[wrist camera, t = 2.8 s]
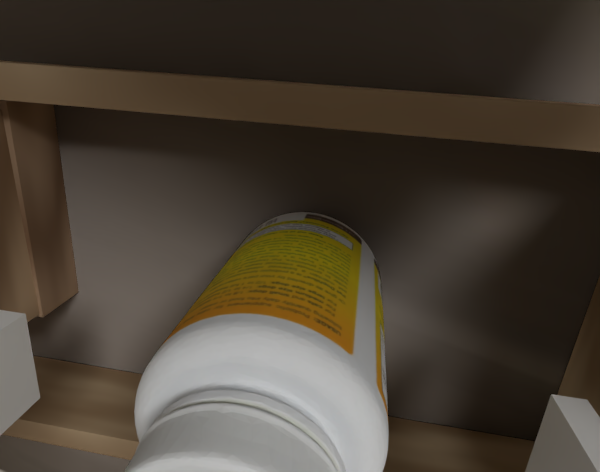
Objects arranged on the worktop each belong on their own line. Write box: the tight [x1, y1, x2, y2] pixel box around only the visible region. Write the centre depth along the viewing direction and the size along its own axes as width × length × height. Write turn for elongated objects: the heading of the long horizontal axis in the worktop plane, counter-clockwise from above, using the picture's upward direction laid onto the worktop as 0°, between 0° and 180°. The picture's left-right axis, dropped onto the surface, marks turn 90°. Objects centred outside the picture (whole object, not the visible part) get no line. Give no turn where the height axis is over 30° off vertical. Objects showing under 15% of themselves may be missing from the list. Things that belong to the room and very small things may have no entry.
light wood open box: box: [0, 60, 600, 472], centre depth 11 cm, size 14×28×12 cm, turn 86°
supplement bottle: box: [124, 212, 389, 472], centre depth 11 cm, size 6×6×10 cm
